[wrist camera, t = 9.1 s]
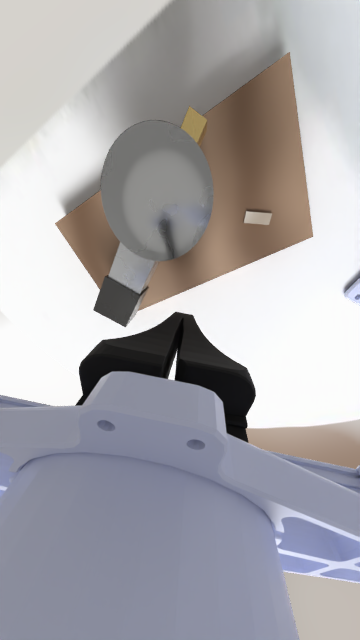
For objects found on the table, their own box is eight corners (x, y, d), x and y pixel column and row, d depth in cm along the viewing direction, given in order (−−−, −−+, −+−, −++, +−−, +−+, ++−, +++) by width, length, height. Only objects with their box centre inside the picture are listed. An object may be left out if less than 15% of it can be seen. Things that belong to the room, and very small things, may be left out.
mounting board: (302, 236, 14) (321, 236, 11) (125, 312, 19) (115, 323, 17) (278, 75, 10) (299, 31, 8) (67, 224, 15) (44, 222, 13)
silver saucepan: (152, 99, 9) (133, 45, 7) (240, 167, 10) (255, 143, 7) (92, 288, 15) (69, 300, 12) (152, 321, 16) (142, 339, 13)
